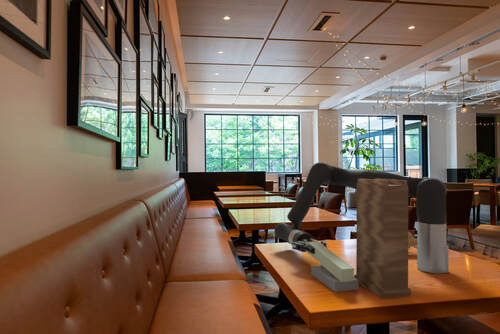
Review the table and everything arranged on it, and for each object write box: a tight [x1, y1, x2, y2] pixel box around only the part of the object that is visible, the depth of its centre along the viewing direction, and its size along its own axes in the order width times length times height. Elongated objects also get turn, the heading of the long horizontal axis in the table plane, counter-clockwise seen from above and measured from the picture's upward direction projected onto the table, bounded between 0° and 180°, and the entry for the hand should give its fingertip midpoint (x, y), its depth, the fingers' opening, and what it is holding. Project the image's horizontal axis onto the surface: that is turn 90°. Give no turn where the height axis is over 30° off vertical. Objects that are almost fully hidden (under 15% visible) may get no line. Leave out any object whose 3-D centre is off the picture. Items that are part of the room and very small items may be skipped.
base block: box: [310, 264, 359, 293], centre depth 106 cm, size 16×8×3 cm, turn 15°
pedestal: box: [353, 179, 412, 300], centre depth 100 cm, size 15×9×34 cm, turn 15°
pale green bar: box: [307, 240, 355, 282], centre depth 109 cm, size 24×4×4 cm, turn 15°
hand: (320, 250), depth 115 cm, fingers closed on pale green bar, 4 cm apart
